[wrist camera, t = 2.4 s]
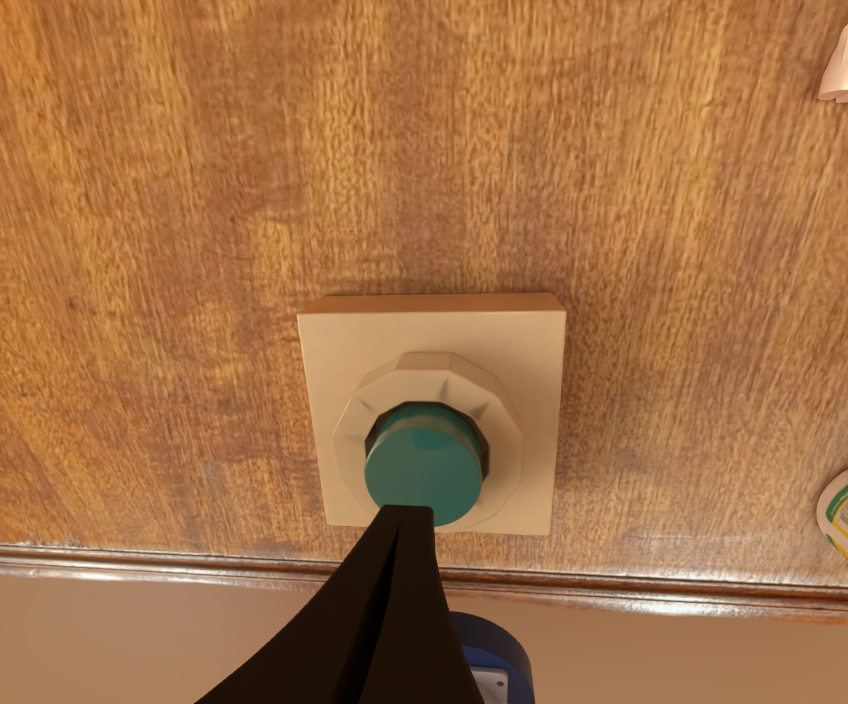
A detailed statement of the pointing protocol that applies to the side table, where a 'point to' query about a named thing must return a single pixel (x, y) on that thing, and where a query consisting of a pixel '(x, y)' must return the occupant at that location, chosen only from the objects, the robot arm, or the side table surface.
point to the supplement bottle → (835, 512)
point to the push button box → (439, 393)
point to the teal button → (426, 462)
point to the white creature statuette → (836, 73)
